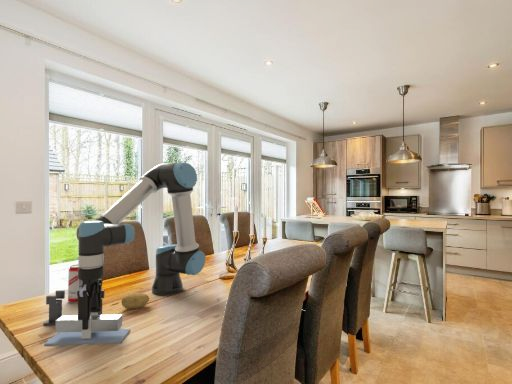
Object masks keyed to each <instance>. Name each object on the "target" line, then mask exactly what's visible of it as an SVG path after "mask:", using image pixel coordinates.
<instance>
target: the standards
mask: <svg viewBox="0 0 512 384" xmlns="http://www.w3.org/2000/svg"><path fill="white" fill-rule="evenodd" d="M65 295H66V290H62V289H59V290H55V295H46V297H45V298H46V299H45V300H46V301H45V304H46V305H48V319H47V320H45V321H44V322H43V324H42V325H43V326H44V327H47V326H49V327H51V326H55V327H56V320H57V319H58V318H60V317H61V316H62V315H63V299H65V298H66V297H65ZM104 298H105V289H102V292H101V307H100V308H99V309H101V311H98V315H103V299H104Z"/></svg>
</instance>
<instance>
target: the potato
mask: <svg viewBox="0 0 512 384" xmlns="http://www.w3.org/2000/svg"><path fill="white" fill-rule="evenodd" d="M149 301H150V297H149V295H148V294H147V293H140V292H131V293H126V294H124V295H123V297H122V298H121V300H120V303H121V305H122V307H124V309H131V310H132V309H139V308H143V307H146V305H147V304H148V303H149Z"/></svg>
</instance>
